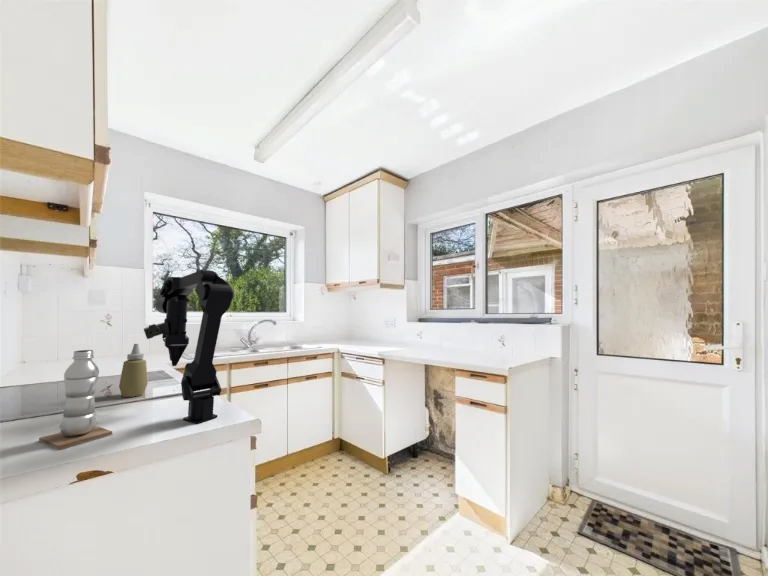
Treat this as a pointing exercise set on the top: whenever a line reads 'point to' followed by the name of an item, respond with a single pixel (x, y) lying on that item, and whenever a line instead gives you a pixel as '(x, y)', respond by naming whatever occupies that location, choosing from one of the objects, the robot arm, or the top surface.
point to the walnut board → (74, 438)
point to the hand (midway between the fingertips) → (173, 363)
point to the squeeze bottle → (133, 374)
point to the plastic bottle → (80, 394)
